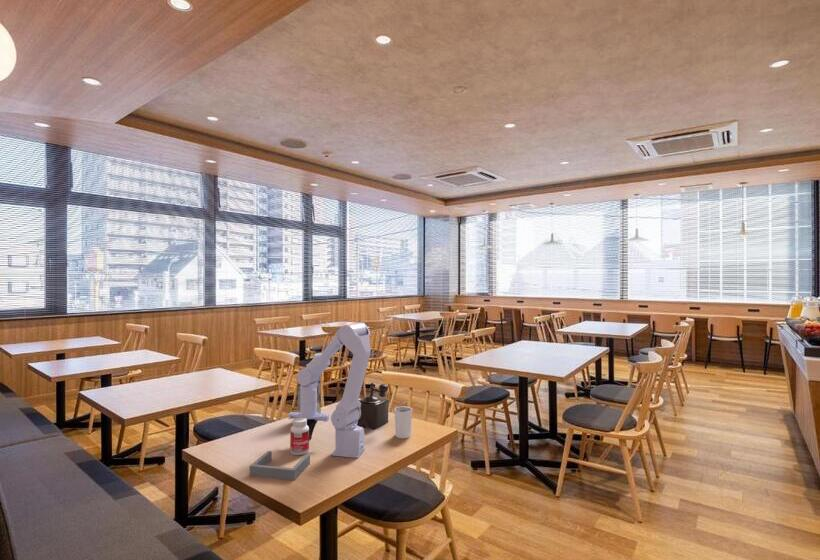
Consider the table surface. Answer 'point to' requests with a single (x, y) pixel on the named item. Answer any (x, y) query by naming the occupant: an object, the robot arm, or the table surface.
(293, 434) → the pill bottle
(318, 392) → the coffee box
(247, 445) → the table surface
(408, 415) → the drinking glass
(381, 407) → the manual coffee grinder
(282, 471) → the box
